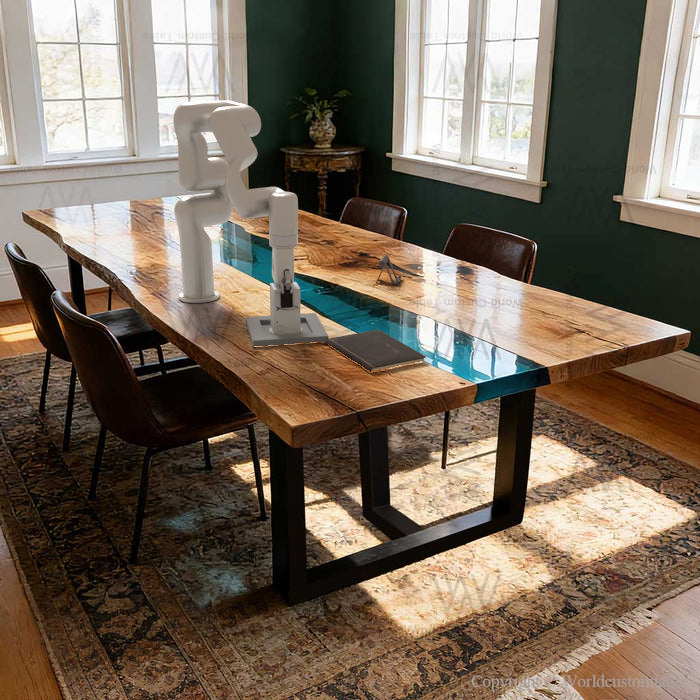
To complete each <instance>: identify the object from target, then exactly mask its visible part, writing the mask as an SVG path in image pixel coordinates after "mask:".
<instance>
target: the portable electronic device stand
mask: <svg viewBox="0 0 700 700" xmlns="http://www.w3.org/2000/svg"><path fill="white" fill-rule="evenodd" d="M387 262H388V264H389V266H390V269H391V271H392V274H393V276H394V278H393V277H392V274H391V271H390V269H389V267H388V265H387ZM378 267H380V268H382V269H381V271H380V273H379V275H378V276H377V279H376V282H375V284H377V283H378V281H379V280H380V278H381V276H382V273H383V271H384V269H386V272H387V275H388V277H389V279H390V281H391V284H392V285H393V286H394V287H397V286H398V285H399V283H400V282H401V280H402V278H403V277H402V273H399V275H397V274H396V271H395V270H394V266H393V264H392V261H391V259H390V257H389V255H387V254H384V255H383V256H382V257H381V258H380V260H379V261H378Z"/></svg>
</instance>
